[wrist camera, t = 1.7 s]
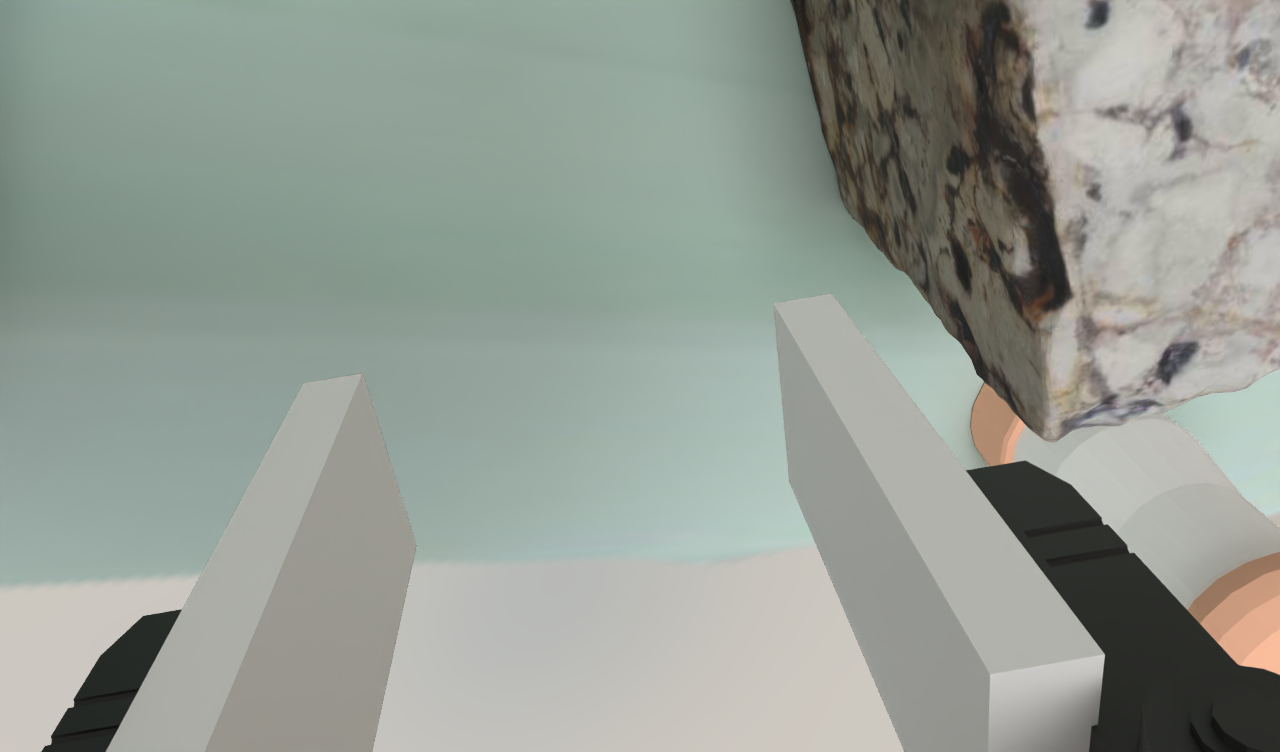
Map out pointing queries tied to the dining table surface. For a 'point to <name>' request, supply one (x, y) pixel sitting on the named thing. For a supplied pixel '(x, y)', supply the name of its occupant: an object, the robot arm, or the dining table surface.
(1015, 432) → the salt shaker
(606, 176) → the dining table surface
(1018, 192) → the stone block
